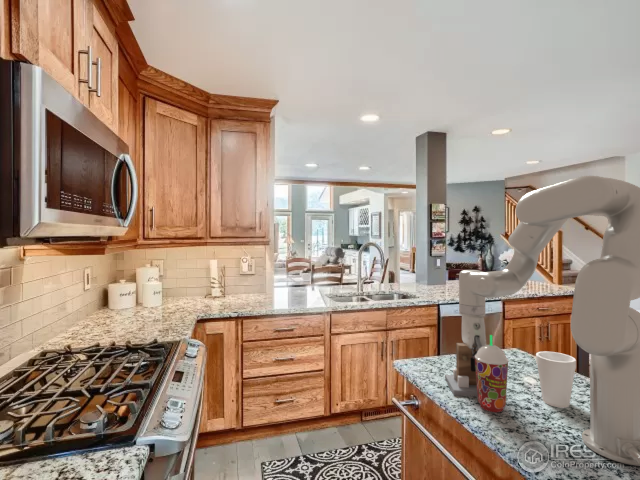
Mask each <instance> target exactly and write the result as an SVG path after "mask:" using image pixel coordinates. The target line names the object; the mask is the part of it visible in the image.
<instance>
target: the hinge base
mask: <svg viewBox="0 0 640 480" xmlns="http://www.w3.org/2000/svg"><path fill="white" fill-rule="evenodd" d="M452 372H453V373H452V374H444V380H445V382H446V384H447V386H448V387H449V389H450V392H451V393H452V395H453V396H461V397H477V398H478V393H477V385H469V377H468V376H457V380H458V382H457V381H456V368H452Z"/></svg>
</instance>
